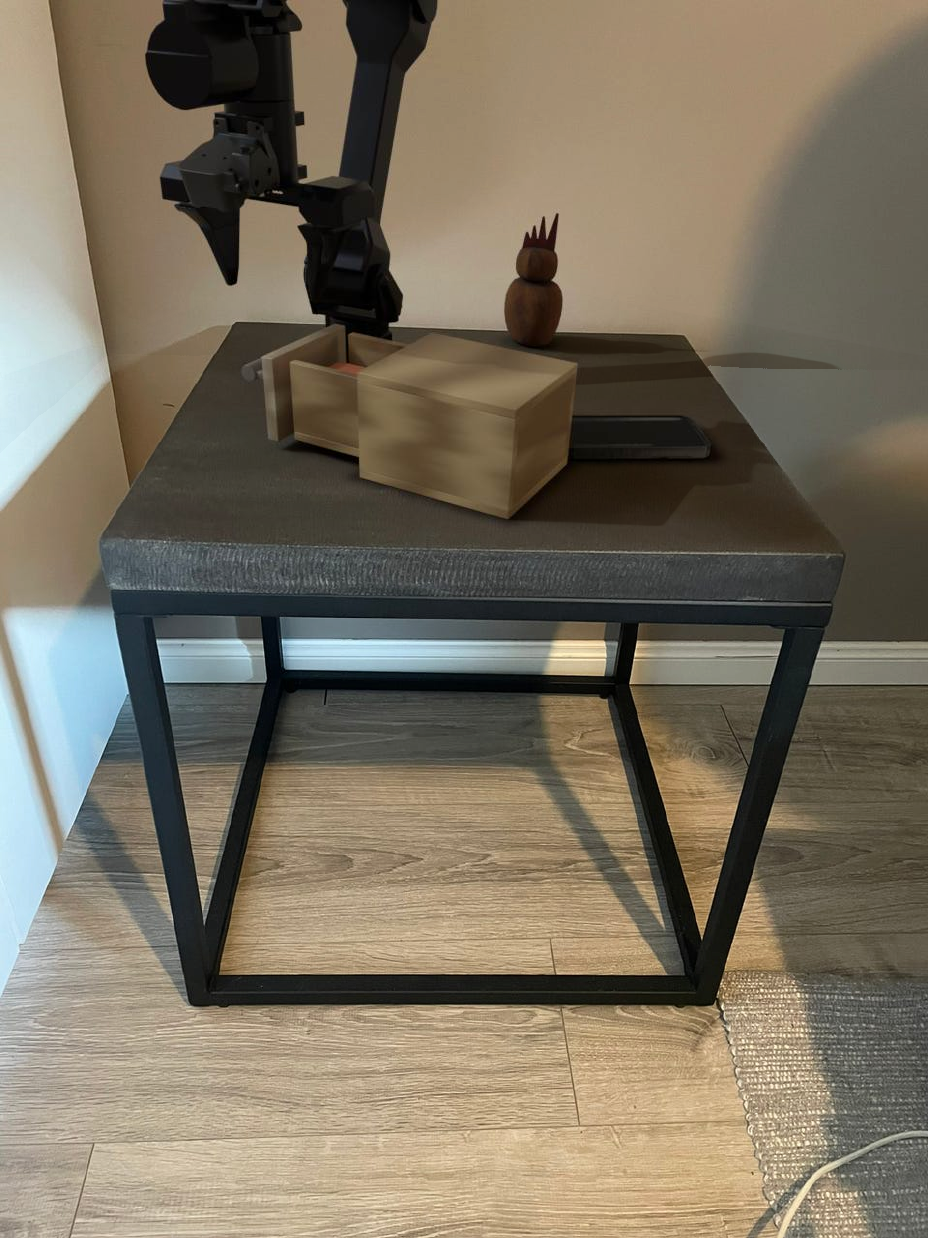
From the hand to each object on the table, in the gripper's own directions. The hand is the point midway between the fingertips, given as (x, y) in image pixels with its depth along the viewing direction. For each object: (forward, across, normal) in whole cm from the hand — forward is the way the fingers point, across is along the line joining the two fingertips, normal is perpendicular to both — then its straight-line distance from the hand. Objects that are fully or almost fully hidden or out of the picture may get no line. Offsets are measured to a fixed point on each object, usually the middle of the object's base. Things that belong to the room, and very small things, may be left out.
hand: (273, 292), depth 86 cm
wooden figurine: (+13, +12, +36) cm, 40 cm away
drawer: (+12, +7, 0) cm, 14 cm away
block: (+10, +8, 0) cm, 13 cm away
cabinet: (+12, +20, -1) cm, 24 cm away
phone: (+12, +31, +13) cm, 36 cm away
